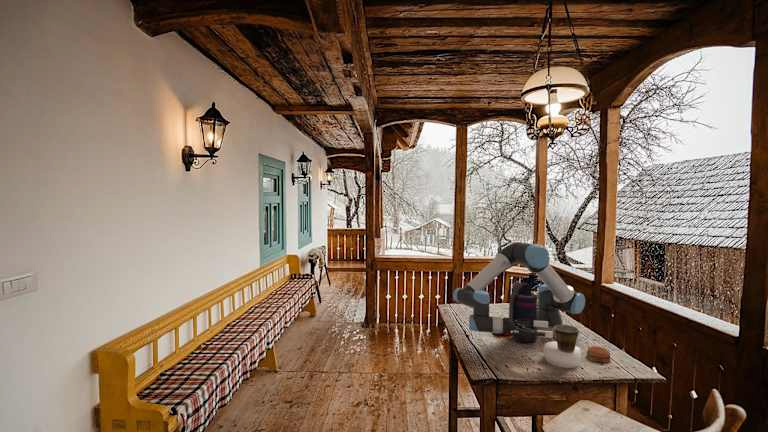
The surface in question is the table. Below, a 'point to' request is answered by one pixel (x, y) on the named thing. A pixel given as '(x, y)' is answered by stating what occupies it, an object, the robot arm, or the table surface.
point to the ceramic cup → (566, 337)
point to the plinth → (562, 356)
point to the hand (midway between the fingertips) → (550, 329)
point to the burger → (598, 354)
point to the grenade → (523, 307)
